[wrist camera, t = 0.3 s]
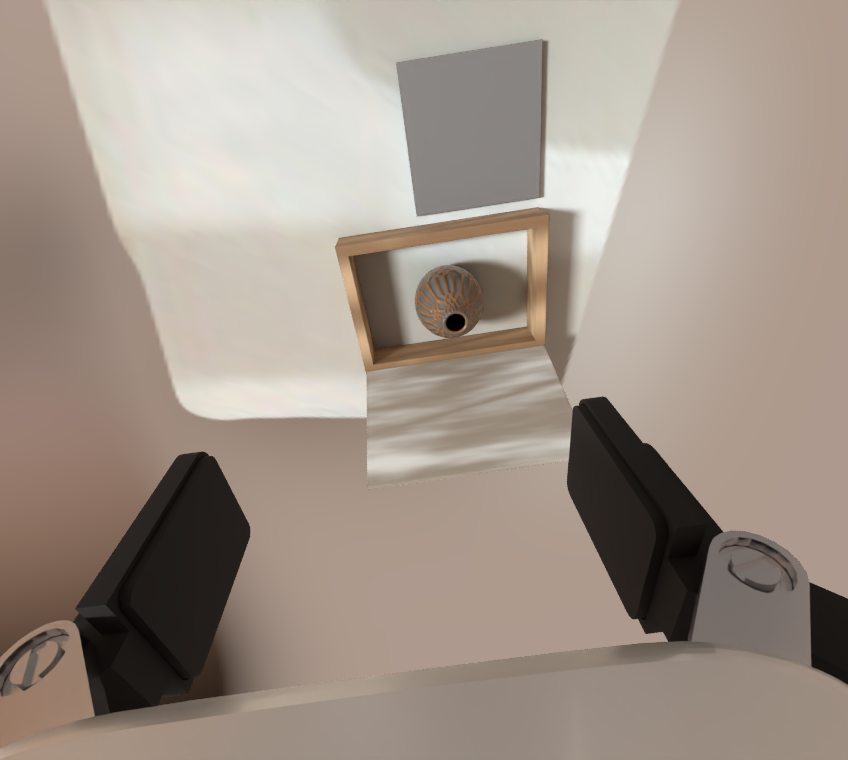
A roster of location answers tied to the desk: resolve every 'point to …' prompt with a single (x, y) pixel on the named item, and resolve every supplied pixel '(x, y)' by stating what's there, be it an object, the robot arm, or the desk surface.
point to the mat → (473, 126)
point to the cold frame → (461, 375)
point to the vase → (449, 301)
